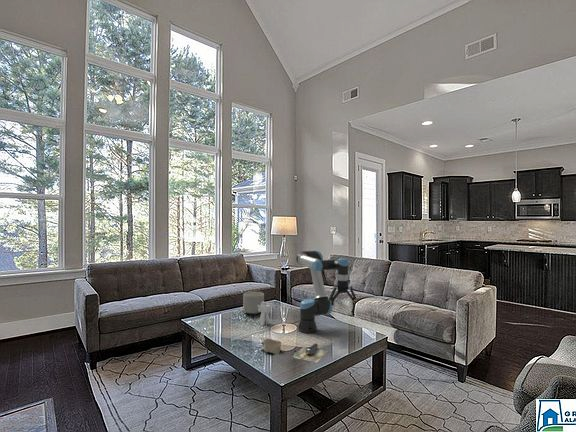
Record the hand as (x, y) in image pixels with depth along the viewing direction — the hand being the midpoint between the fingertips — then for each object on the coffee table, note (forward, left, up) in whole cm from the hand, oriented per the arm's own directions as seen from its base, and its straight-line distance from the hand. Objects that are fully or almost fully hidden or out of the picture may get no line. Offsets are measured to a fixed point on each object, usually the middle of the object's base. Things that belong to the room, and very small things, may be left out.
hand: (342, 309), depth 231 cm
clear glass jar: (-70, +8, -23) cm, 74 cm away
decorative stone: (-36, -40, -23) cm, 59 cm away
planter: (-94, +27, -23) cm, 100 cm away
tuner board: (-11, -34, -23) cm, 42 cm away
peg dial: (-11, -34, -22) cm, 42 cm away
